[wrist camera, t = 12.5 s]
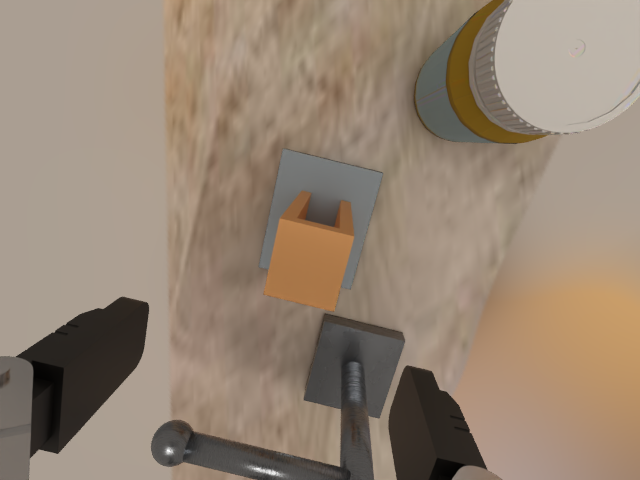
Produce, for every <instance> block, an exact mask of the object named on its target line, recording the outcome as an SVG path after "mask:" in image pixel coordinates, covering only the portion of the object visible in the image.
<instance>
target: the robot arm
mask: <svg viewBox="0 0 640 480" xmlns="http://www.w3.org/2000/svg"><path fill="white" fill-rule="evenodd" d="M148 314H149V305H148V303H147V302H143V301H139V300H134V299H130V298H126V297H120V298H119V299H117V300H116V301H114V302H113V303H112V304H110V305H109V306H107V307H106V308H104V309H99V308H98V309H95V310H91V311H88V312H85V313H82V314H80V315H78V316H77V317H75V318H74V319H72V320H71V321H69V322H68V323H67V324H66V325H63V326H62V327H60V328H59V329H57V330H56V331H55V333H51V334H49V335H48V336H46V337H45V338H43V339H42V340H40V341H39V342H37V343H36V344H34V345H33V346H31V347H30V348H28V349H27V350H25V351H24V352H22V353H21V354H19V355H18V356H16V357H10V356H1V357H0V480H29V465H30V458H31V457H32V456H33V455H34V454H35V453H36V451H38V450H39V449H40V450H44V451H48V452H53V453H57V454H58V453H59V452H60V451H61V450H62V449H63V448H64V446H66V444H67V443H68V442H69V441H70V440H71V439H72V438H73V437H74V435H76V433H77V432H78V431H79V430H80V429H81V428H82V427H83V426H84V425H85V423H86V422H87V421H88V420H89V419H90V418H91V416H93V415H94V413H95V412H96V411H97V410H98V409H99V408H100V407H101V406H102V405H103V403H104V402H105V401H106V400H107V399H108V398H109V397H110V396H111V395H112V394H113V392H114V391H115V390H116V389H117V388H118V387H119V386H120V385H121V384H122V383H123V381H124V380H125V379H126V378H127V377H128V376H129V375H130V374H131V373H132V372H133V370H134V369H135V368H136V367H137V365H138V363H139V361H140V359H141V357H142V354H143V350H144V345H145V337H146V329H147V322H148ZM389 435H390V441H391V447H392V453H393V459H394V465H395V471H396V477H397V480H502V479H501V478H499V477H498V476H497V475H495V474H494V473H492V472H490V471H488V470H487V468H486V465H485V463H484V461H483V459H482V456H481V454H480V452H479V450H478V447H477V445H476V443H475V441H474V438H473V436H472V434H471V433H470V429H469V427H468V425H467V423H466V421H465V418H464V416H463V414H462V412H461V410H460V407H459V405H458V404H457V403H456V402H455V401H454V399H453V398H452V397H451V396H450V395H449V394H448V393H447V392H445V391H441V390H439V387H438V385H437V382H436V380H435V377H434V375H433V373H432V371H429V370H425V369H421V368H416V367H412V366H406V367H405V368H404V370H403V373H402V376H401V379H400V382H399V385H398V388H397V391H396V394H395V397H394V400H393V403H392V406H391V409H390V414H389Z"/></svg>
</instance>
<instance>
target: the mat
mask: <svg viewBox="0 0 640 480" xmlns="http://www.w3.org/2000/svg"><path fill="white" fill-rule="evenodd" d="M382 175H383V173H381V172H377V171H373V170H369V169H365V168H361V167H357V166H353V165H349V164H345V163H341V162H337V161H333V160H329V159H325V158H321V157H317V156H313V155H308V154H304V153H300V152H296V151H292V150H288V149H283V151H282V156H281V161H280V166H279V171H278V175H277V180H276V185H275V190H274V195H273V200H272V205H271V209H270V214H269V219H268V224H267V229H266V234H265V239H264V243H263V248H262V253H261V258H260V263H259V267H261V268H265V269H269V266H270V261H271V257H272V252H273V247H274V243H275V238H276V233H277V229H278V224H279V219H280V217H281V216H282V215H283V214H284V212H285V211H286V210H287V208H288V207H289V206H290V205H291V203H292V202H293V201H294V200H295V198H296V197H297V196H298V195H299V193H300V192H301V191H306V192H310V193H311V198H310V202H309V206H308V210H307V215H306V219H305V220H307V221H311V222H315V223H319V224H323V225H327V226H331V227H334V225H335V221H336V217H337V213H338V209H339V205H340V202H341V200H343V201H347V202H351V210H352V219H353V228H354V240H353V244H352V248H351V251H350V255H349V259H348V262H347V266H346V270H345V273H344V277H343V281H342V284H341V287H342V288H346V289H350V290H351V286H352V283H353V279H354V276H355V272H356V268H357V265H358V261H359V258H360V254H361V251H362V247H363V243H364V240H365V236H366V233H367V229H368V226H369V222H370V218H371V215H372V211H373V208H374V204H375V200H376V197H377V193H378V190H379V186H380V183H381V179H382Z"/></svg>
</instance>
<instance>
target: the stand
mask: <svg viewBox="0 0 640 480" xmlns="http://www.w3.org/2000/svg"><path fill="white" fill-rule="evenodd" d="M404 343H405V339H404V336H403V333H402V332H398V331H394V330H390V329H386V328H382V327H378V326H373V325H369V324H365V323H361V322H357V321H353V320H349V319H345V318H341V317H337V316H333V315H329V314H325V317H324V321H323V324H322V328H321V332H320V336H319V340H318V343H317V347H316V351H315V355H314V358H313V362H312V366H311V370H310V373H309V377H308V381H307V385H306V389H305V394H304V400H305V401H310V402H314V403H318V404H322V405H326V406H330V407H334V408H338V409H341V456H340V467H338V466H334V465H330V464H326V463H322V462H318V461H314V460H309V459H305V458H301V457H297V456H293V455H289V454H285V453H281V452H277V451H273V450H268V449H264V448H260V447H256V446H252V445H248V444H244V443H240V442H236V441H231V440H227V439H223V438H219V437H215V436H211V435H207V434H203V433H199V432H194V431H193V429H192V427H191V426H190V425H189V424H188V423H186V422H185V421H182V420H172V421H169V422H167V423H165V424H163V425H162V426H161V427H160V428H159V429H158V430H157V431H156V433H155V434H154V437H153V440H152V443H151V451H152V455H153V457H154V459H155V460H156V461H157V462H158V463H159V464H161V465H163V466H168V467H172V466H176V465H179V464H181V463H183V462H186V463H190V464H194V465H198V466H202V467H206V468H211V469H215V470H219V471H223V472H227V473H231V474H235V475H239V476H244V477H248V478H252V479H256V480H374V474H373V463H372V452H371V440H370V429H369V418H368V416H371V417H375V418H380V415H381V412H382V409H383V406H384V403H385V400H386V397H387V394H388V391H389V388H390V385H391V382H392V379H393V376H394V373H395V370H396V367H397V364H398V361H399V358H400V355H401V352H402V349H403V346H404Z"/></svg>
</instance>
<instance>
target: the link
mask: <svg viewBox="0 0 640 480" xmlns="http://www.w3.org/2000/svg"><path fill="white" fill-rule="evenodd" d="M310 198H311V193H310V192H306V191H301V192H300V193H299V195H298V196H297V197H296V198H295V200H294V201H293V202H292V203H291V205H290V206H289V207H288V208H287V210H286V211H285V212H284V214H283V215H282V216H281V217H280V219H279V224H278V229H277V233H276V238H275V243H274V247H273V252H272V257H271V261H270V266H269V271H268V275H267V280H266V285H265V290H264V294H263V295H268V296H272V297H276V298H280V299H284V300H288V301H292V302H296V303H300V304H304V305H308V306H313V307H317V308H321V309H325V310H329V311H333V312H334V310H335V307H336V303H337V299H338V296H339V292H340V288H341V284H342V281H343V277H344V273H345V270H346V266H347V262H348V259H349V255H350V251H351V248H352V244H353V240H354V228H353V219H352V210H351V202H347V201H343V200H341V202H340V205H339V209H338V213H337V217H336V221H335V225H334V227H331V226H327V225H323V224H319V223H315V222H311V221H307V220H305V219H306V215H307V210H308V206H309V202H310Z"/></svg>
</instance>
